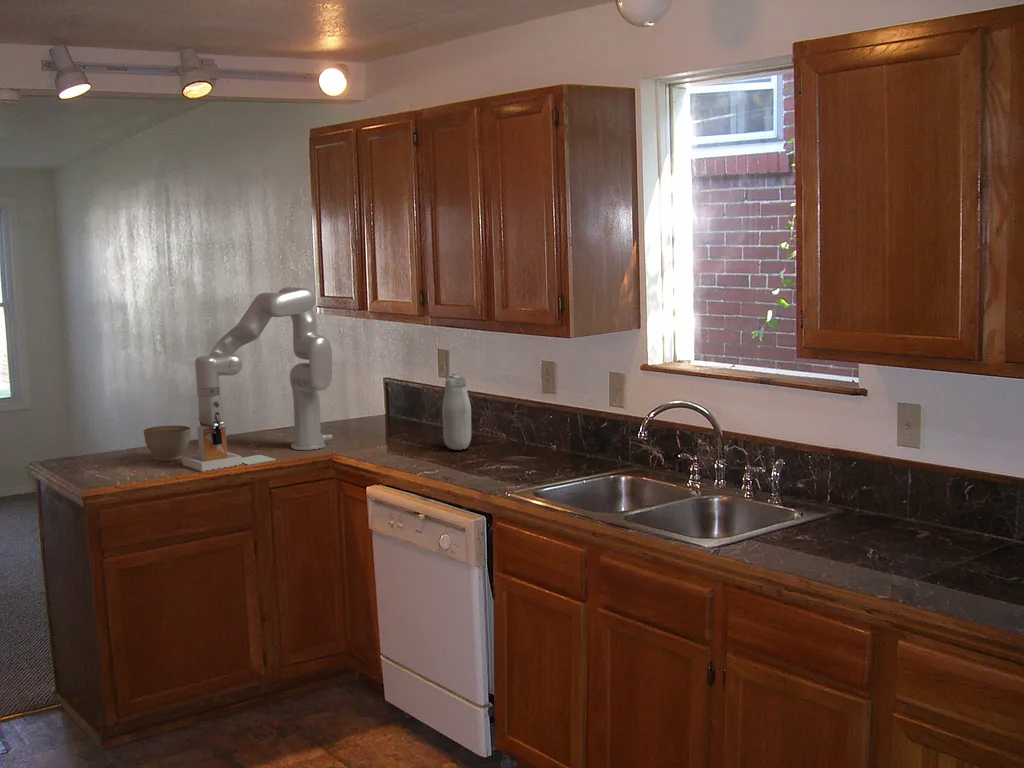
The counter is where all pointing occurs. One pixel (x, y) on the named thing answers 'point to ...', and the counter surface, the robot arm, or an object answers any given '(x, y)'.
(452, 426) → the glass bottle
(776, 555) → the counter surface
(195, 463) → the bin
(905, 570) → the counter surface
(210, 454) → the small box
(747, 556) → the counter surface
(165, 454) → the planter bowl
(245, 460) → the pad
